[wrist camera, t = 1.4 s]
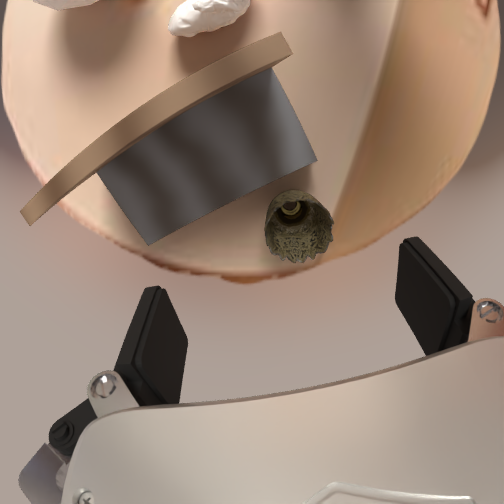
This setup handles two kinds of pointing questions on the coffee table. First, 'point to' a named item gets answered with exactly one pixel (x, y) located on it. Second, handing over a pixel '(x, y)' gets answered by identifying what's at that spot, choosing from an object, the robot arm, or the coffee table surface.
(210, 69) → the board
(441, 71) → the coffee table surface
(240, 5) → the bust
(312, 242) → the cup
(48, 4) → the geodesic sphere
